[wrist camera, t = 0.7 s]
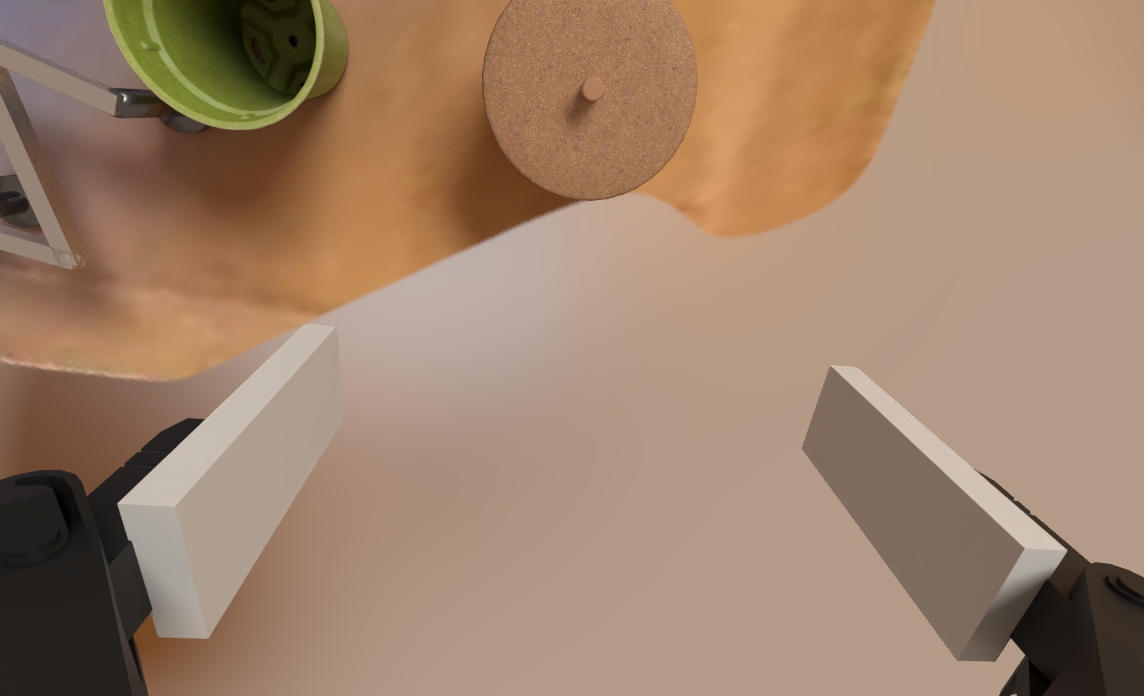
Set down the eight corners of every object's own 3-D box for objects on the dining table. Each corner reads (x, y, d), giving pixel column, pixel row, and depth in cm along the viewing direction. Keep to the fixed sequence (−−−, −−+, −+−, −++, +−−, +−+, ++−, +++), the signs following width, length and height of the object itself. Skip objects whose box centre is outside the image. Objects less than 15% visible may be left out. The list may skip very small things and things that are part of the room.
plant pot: (180, -29, 30) (51, -78, 23) (338, -78, 30) (262, -146, 22) (260, 142, 34) (173, 152, 26) (401, 102, 34) (355, 100, 26)
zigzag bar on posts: (-67, 127, 33) (-205, 131, 27) (141, -7, 31) (42, -35, 25) (76, 285, 37) (-16, 319, 31) (268, 178, 35) (210, 192, 29)
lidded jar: (469, 137, 35) (444, 146, 26) (538, -44, 31) (535, -104, 22) (618, 210, 37) (639, 241, 28) (699, 49, 33) (751, 27, 25)
